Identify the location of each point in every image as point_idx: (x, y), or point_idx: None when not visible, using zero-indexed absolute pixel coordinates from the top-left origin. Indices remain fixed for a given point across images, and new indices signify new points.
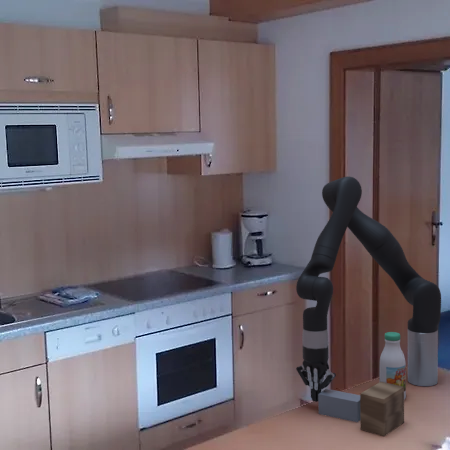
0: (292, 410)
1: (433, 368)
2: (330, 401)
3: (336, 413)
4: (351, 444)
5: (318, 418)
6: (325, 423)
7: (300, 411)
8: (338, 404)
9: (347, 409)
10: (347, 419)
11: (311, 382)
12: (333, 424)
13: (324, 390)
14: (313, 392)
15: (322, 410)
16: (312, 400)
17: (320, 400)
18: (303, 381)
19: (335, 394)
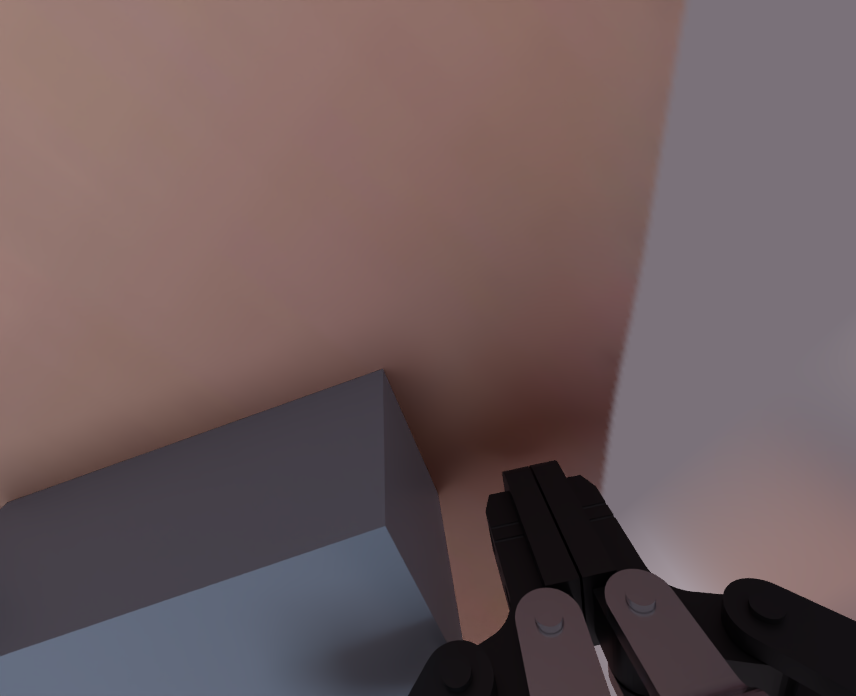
0: (638, 226)
1: None
2: (207, 532)
3: (187, 461)
4: None
5: (293, 294)
6: (133, 261)
7: (556, 274)
8: (103, 553)
9: (20, 558)
10: (94, 474)
11: (679, 680)
12: (65, 309)
13: None
14: (570, 540)
15: (338, 407)
16: (551, 461)
17: (354, 471)
18: (843, 618)
19: (215, 676)
